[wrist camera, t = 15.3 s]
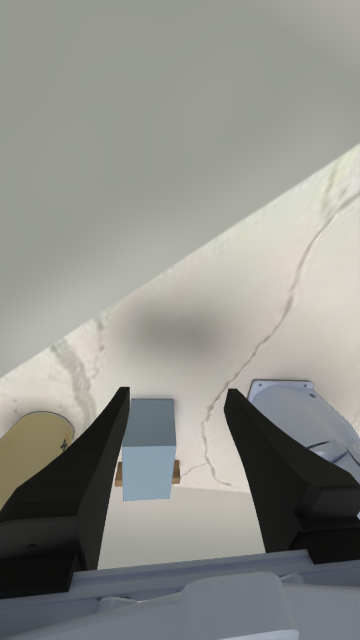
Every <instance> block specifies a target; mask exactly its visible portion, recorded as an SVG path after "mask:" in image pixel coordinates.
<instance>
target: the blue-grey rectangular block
mask: <svg viewBox="0 0 360 640" xmlns="http://www.w3.org/2000/svg"><path fill="white" fill-rule="evenodd" d="M175 453H176V433H175V418H174V403H173V399H132V401H131V406H130V411H129V417H128V422H127V427H126V431H125V434H124V439H123V443H122V479H123V501H134V500H150V499H169V498H170V491H171V483H172V476H173V468H174V460H175Z"/></svg>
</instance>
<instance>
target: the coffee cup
mask: <svg viewBox="0 0 360 640" xmlns="http://www.w3.org/2000/svg"><path fill="white" fill-rule="evenodd" d="M73 437H74V429H73V427H72V425H71V424H70V423H69V422H68V421H67V420H66V419H65V418H63V417H61V416H59V415H56V414H53V413H49V412H34V413H30V414H28V415H25V416H24V417H22V418H21V419H20V420H19V421H18V422H17V423H16V424H15V425H14V426H13V427H12V428H11V429H10V430H9V431H8V432H7V433H6V434H5V435H4V436H3V437H2V438H1V439H0V510H1V509H2V507H3V506H4V504H5V503H6V501H7V500H8V499H9V497H10V496H11V495H12V493H13V492H14V491H15V489H16V488H17V487H19V486H20V485H21V484H23V483H24V482H26V481H27V480H28V479H30V478H31V477H32V476H34V475H35V474H36V473H38V472H39V471H40V470H42V469H43V468H44V467H46V466H47V465H48V464H49V463H50V462H52V461H53V460H54V459H55V458H56V457H58V456H59V455H60V454H61V453H62V452H64V451H65V450H66V449H67V448H68V447H69V446H70V445H71V443H72V440H73Z"/></svg>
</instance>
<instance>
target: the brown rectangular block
mask: <svg viewBox="0 0 360 640" xmlns="http://www.w3.org/2000/svg"><path fill="white" fill-rule="evenodd" d="M179 483H180V468H179V461H174V468H173V476H172V483H171V484H179ZM115 486H116V487H118V486H123V479H122V462H119V464H118V468H117V473H116V478H115Z"/></svg>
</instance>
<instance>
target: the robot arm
mask: <svg viewBox="0 0 360 640" xmlns="http://www.w3.org/2000/svg"><path fill="white" fill-rule="evenodd" d="M313 387H314V383H312V382H308V381H261V380H256V381H254V382H253V383H252V386H251V390H250V393H249V397H248V399H247V398H246V397H245V396H244V395H243V394H242V393H241V392H239V391H238V390H237V389H228V393H227V397H226V402H225V406H224V413H225V417H226V421H227V424H228V427H229V430H230V432H231V435H232V437H233V440H234V442H235V445H236V447H237V450H238V453H239V455H240V458H241V461H242V463H243V466H244V470H245V473H246V477H247V480H248V483H249V487H250V491H251V494H252V498H253V501H254V505H255V509H256V513H257V517H258V521H259V525H260V529H261V534H262V538H263V543H264V547H265V551H266V553H264V554H254V555H243V556H234V557H223V558H213V559H203V560H193V561H183V562H172V563H162V564H152V565H142V566H133V567H122V568H112V569H102V570H97V566H98V561H99V555H100V549H101V543H102V537H103V531H104V526H105V520H106V514H107V509H108V504H109V498H110V493H111V488H112V482H113V477H114V472H115V467H116V463H117V459H118V456H119V452H120V449H121V445H122V441H123V438H124V434H125V431H126V427H127V422H128V417H129V411H130V387H120V388H119V389H118V391H117V392H116V394H115V395H114V397H113V398H112V400H111V401H110V402H109V404H108V405H107V406H106V407H105V409H104V410H103V411H102V413H101V414H100V415H99V416H98V417H97V418H96V420H95V421H94V422H93V423H92V424H91V425H90V426H89V427H88V429H87V430H86V431H85V432H84V433H83V434H82V435H81V436H80V437H79V438H78V439H77V440H76V441H74V442H73V443H72V444H71V445H70V446H69V447H68V448H67V449H66V450H65V451H64V452H62V453H61V454H60V455H59V456H58V457H56V458H55V459H54V460H53V461H52V462H50V463H49V464H48V465H47V466H46V467H44V468H43V469H42V470H40V471H39V472H38V473H36V474H35V475H34V476H32V477H31V478H30V479H28V480H27V481H26V482H24V483H23V484H21V485H20V486H19V487H17V488H16V489H15V491H14V492H13V493H12V495H11V496H10V497H9V499H8V500H7V501H6V503H5V504H4V506H3V507H2V509H1V510H0V640H360V438H359V436H358V434H357V433H356V431H355V430H354V428H353V427H352V426H351V424H350V423H349V422H348V421H347V420H346V419H345V418H344V417H343V416H341V415H340V414H339V413H338V412H337V411H336V410H335V409H334V408H333V407H332V406H331V405H329V404H328V403H327V402H326V401H325V400H324V399H323V398H322V397H321V396H320V395H318V394H317V393H316V392H315V391H314V390H313ZM144 600H147V601H144ZM137 601H143V602H139V603H138V602H137Z"/></svg>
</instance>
